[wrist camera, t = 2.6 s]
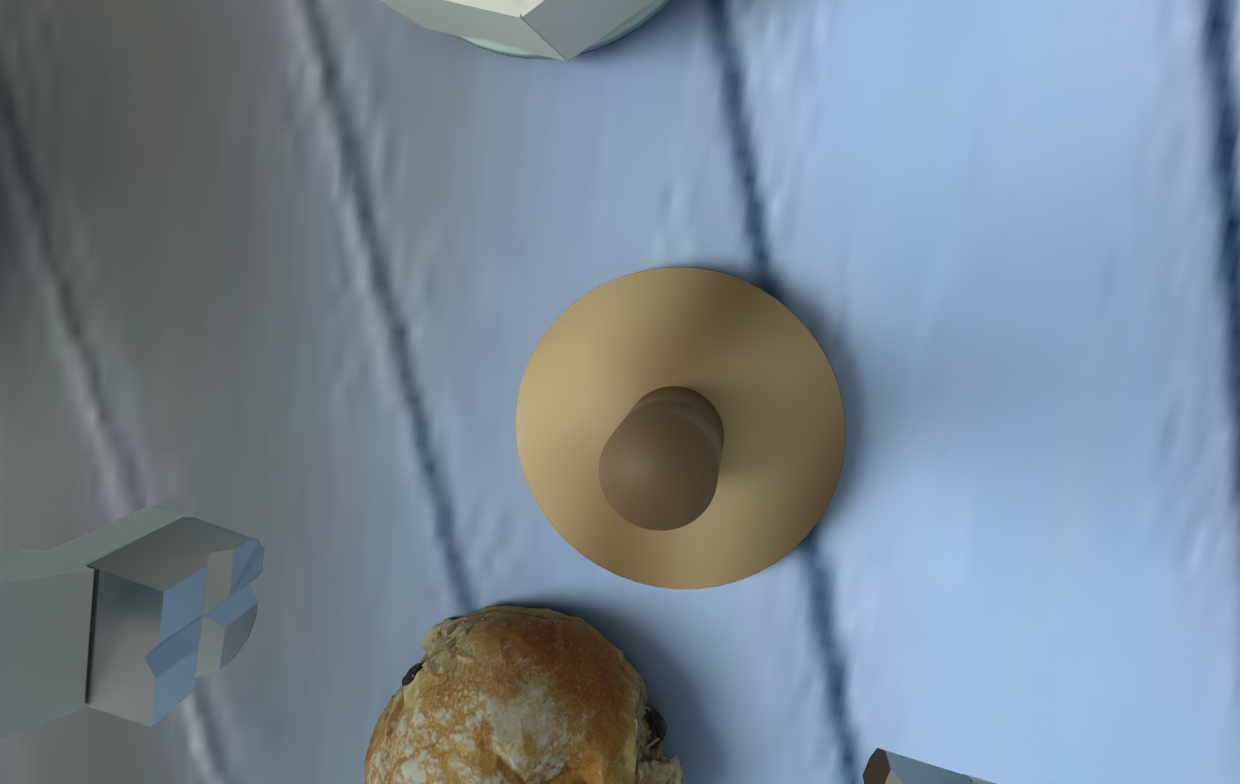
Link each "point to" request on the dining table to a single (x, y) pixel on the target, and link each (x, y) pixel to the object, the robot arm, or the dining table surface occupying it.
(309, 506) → the dining table surface
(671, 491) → the wooden lid
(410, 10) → the octagonal jar
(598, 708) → the bread roll
